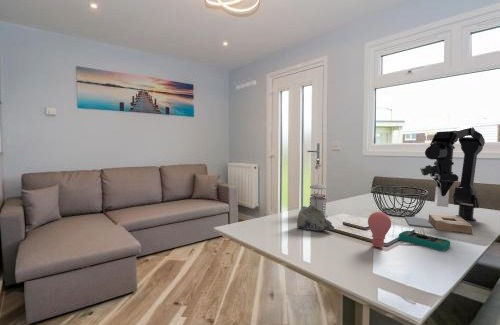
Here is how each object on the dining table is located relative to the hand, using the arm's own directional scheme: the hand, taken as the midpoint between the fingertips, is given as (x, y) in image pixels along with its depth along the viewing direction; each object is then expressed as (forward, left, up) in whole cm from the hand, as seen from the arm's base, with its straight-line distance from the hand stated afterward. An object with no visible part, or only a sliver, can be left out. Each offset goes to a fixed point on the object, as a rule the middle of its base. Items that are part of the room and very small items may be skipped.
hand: (441, 195), depth 119 cm
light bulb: (+41, -26, -14) cm, 50 cm away
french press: (+8, -52, -14) cm, 54 cm away
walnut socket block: (0, +3, -13) cm, 14 cm away
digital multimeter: (+29, -11, -14) cm, 34 cm away
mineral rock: (+32, -49, -14) cm, 60 cm away
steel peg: (0, 0, -5) cm, 4 cm away
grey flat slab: (0, -8, -13) cm, 16 cm away
